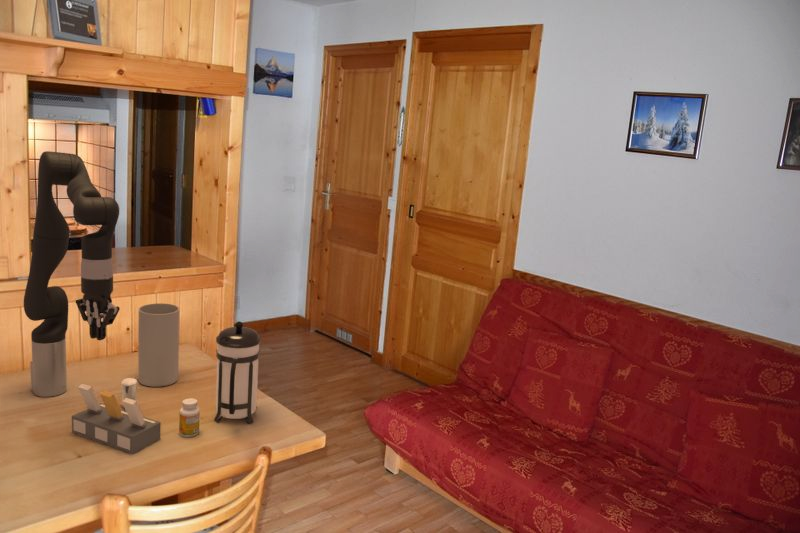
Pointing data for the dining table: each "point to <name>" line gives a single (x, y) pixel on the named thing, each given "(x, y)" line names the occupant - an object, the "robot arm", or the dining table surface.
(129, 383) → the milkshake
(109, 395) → the rocker amber
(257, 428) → the dining table surface
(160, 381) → the cylinder vase
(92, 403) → the rocker left
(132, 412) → the rocker right
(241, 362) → the coffee press
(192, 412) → the supplement bottle
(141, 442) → the strip block
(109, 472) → the dining table surface
